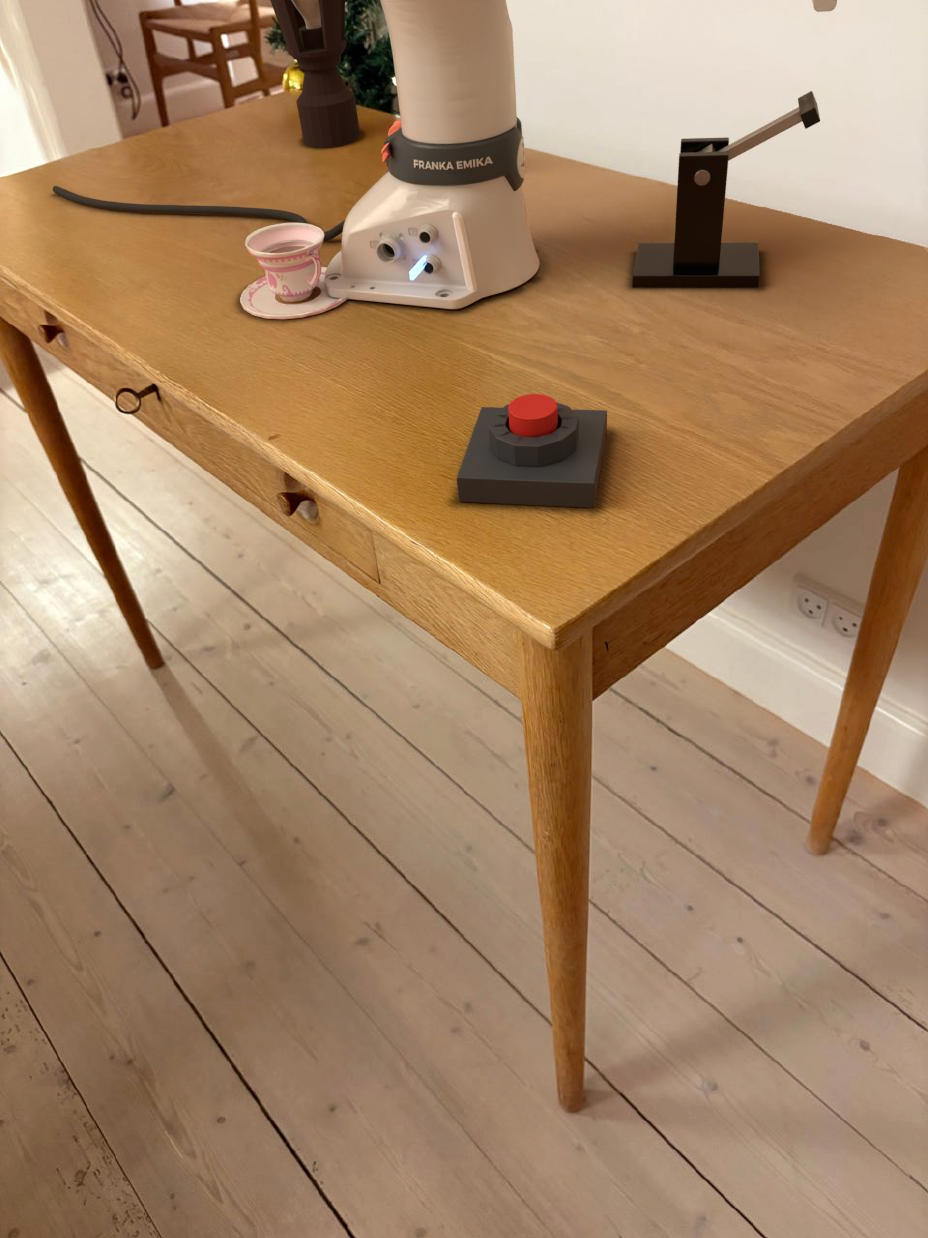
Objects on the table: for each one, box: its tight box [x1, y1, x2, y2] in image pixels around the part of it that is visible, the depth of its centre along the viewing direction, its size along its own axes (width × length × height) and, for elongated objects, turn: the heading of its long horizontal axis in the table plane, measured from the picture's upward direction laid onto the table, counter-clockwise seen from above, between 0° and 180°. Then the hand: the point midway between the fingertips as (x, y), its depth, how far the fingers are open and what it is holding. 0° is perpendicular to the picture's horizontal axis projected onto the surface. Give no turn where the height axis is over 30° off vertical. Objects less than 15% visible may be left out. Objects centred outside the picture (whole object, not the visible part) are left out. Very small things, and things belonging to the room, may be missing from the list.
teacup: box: [239, 222, 349, 320], centre depth 103 cm, size 12×12×6 cm
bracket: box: [631, 137, 761, 289], centre depth 97 cm, size 12×8×12 cm, turn 79°
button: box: [508, 393, 558, 437], centre depth 74 cm, size 4×4×2 cm
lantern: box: [269, 0, 361, 149], centre depth 134 cm, size 15×15×30 cm
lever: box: [698, 90, 821, 162], centre depth 92 cm, size 12×5×2 cm, turn 79°
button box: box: [456, 401, 608, 509], centre depth 76 cm, size 10×10×4 cm
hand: (823, 7), depth 84 cm, fingers closed
